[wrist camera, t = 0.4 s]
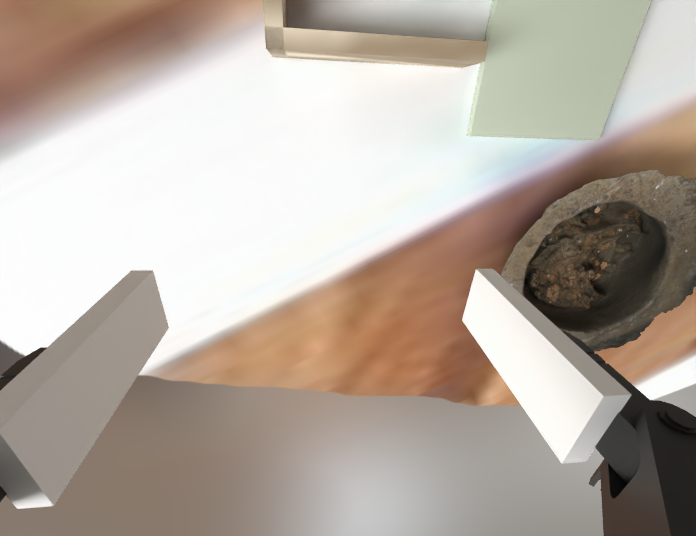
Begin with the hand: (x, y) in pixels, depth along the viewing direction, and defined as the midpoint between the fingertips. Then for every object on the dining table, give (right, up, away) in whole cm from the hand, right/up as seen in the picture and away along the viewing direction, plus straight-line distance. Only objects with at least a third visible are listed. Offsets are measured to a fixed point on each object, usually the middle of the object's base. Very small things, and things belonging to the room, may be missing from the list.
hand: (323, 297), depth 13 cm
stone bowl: (+32, +4, +32) cm, 45 cm away
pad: (+23, +24, +20) cm, 39 cm away
